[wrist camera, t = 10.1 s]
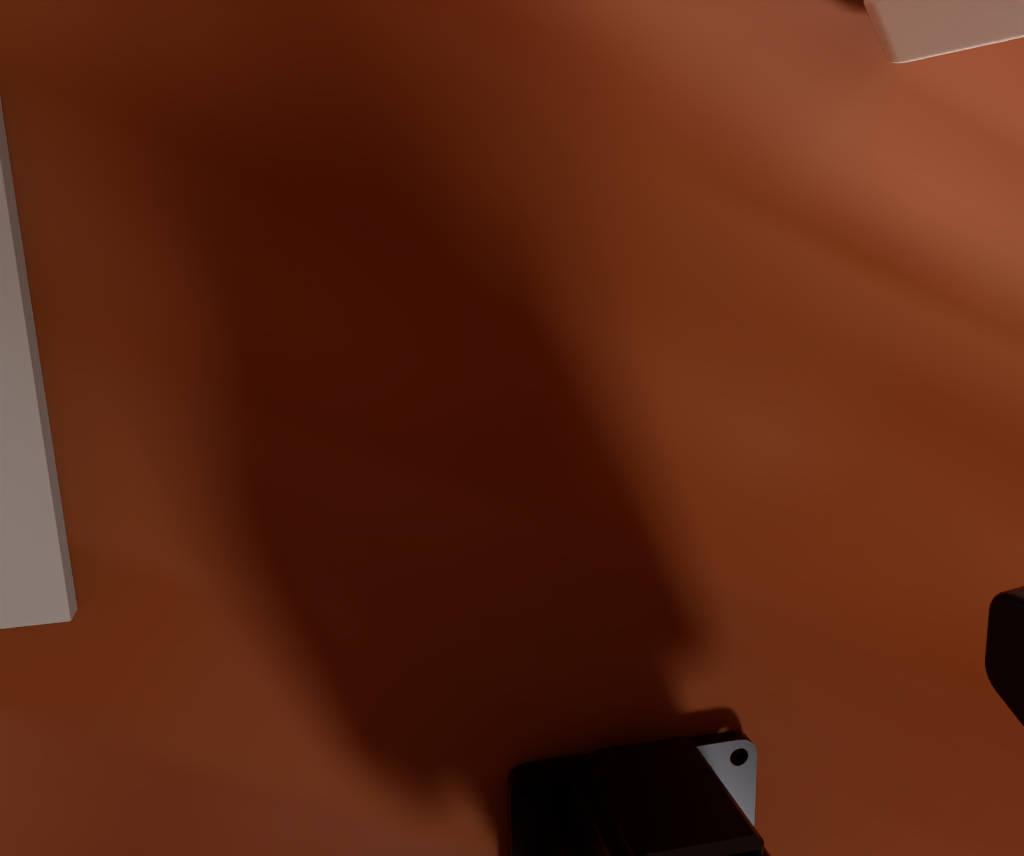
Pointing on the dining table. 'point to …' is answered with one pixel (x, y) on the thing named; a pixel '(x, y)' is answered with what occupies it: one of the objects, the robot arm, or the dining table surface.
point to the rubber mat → (26, 447)
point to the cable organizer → (942, 25)
